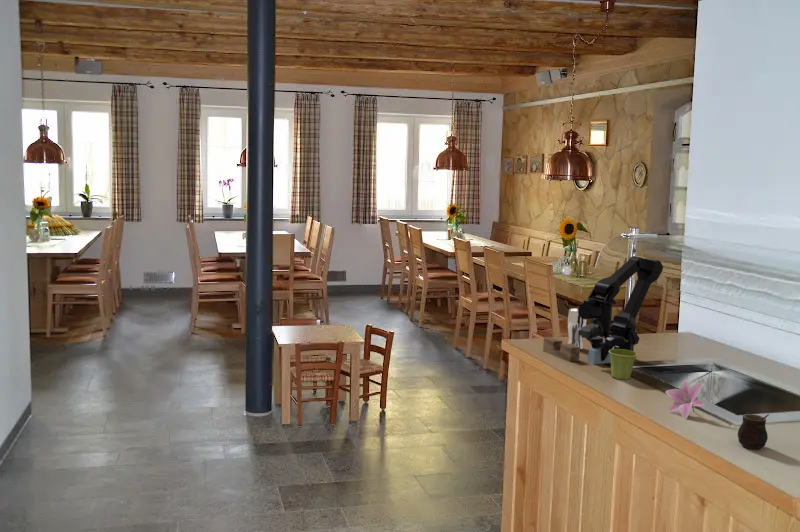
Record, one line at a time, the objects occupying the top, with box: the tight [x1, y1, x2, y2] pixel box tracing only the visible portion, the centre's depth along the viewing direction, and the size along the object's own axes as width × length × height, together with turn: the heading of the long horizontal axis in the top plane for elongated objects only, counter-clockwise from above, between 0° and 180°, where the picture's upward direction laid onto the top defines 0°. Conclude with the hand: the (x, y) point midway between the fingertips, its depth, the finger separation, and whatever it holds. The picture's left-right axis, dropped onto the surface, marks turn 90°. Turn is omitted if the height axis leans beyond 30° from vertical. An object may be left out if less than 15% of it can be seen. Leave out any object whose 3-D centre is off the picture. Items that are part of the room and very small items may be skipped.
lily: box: [665, 379, 705, 420], centre depth 235 cm, size 12×12×10 cm
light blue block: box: [587, 347, 611, 365], centre depth 289 cm, size 8×3×5 cm, turn 117°
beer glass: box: [567, 307, 587, 351], centre depth 309 cm, size 7×7×15 cm
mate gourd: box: [737, 413, 770, 451], centre depth 209 cm, size 7×8×10 cm
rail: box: [542, 336, 581, 363], centre depth 296 cm, size 4×16×5 cm, turn 27°
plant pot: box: [609, 348, 639, 381], centre depth 271 cm, size 9×9×9 cm
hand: (599, 359), depth 290 cm, fingers closed on light blue block, 3 cm apart
